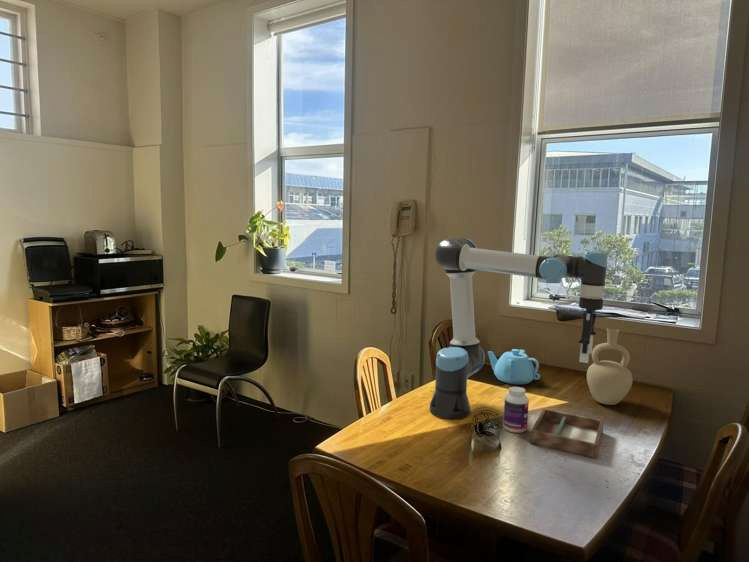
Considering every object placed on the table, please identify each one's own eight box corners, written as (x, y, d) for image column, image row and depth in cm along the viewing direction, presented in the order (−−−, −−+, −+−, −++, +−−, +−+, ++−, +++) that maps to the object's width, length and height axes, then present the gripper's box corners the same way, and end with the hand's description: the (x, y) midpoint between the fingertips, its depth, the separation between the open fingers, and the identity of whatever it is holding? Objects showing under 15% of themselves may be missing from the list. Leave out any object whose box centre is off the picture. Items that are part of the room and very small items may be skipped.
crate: (529, 443, 165) (530, 430, 164) (542, 420, 184) (543, 408, 183) (596, 459, 155) (597, 445, 155) (602, 432, 174) (603, 420, 174)
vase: (588, 407, 198) (594, 332, 194) (581, 393, 214) (587, 323, 210) (635, 412, 194) (642, 336, 190) (624, 397, 210) (631, 326, 206)
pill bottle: (527, 435, 171) (530, 394, 169) (503, 432, 173) (505, 392, 171) (525, 425, 179) (528, 386, 177) (502, 423, 181) (504, 384, 179)
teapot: (523, 372, 241) (525, 343, 239) (544, 385, 222) (546, 355, 220) (485, 373, 237) (487, 345, 235) (503, 387, 219) (505, 356, 217)
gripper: (600, 303, 159) (594, 368, 162) (605, 293, 181) (600, 350, 184) (575, 300, 163) (569, 364, 166) (583, 291, 185) (578, 347, 188)
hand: (585, 357), depth 175 cm, fingers open, 13 cm apart
